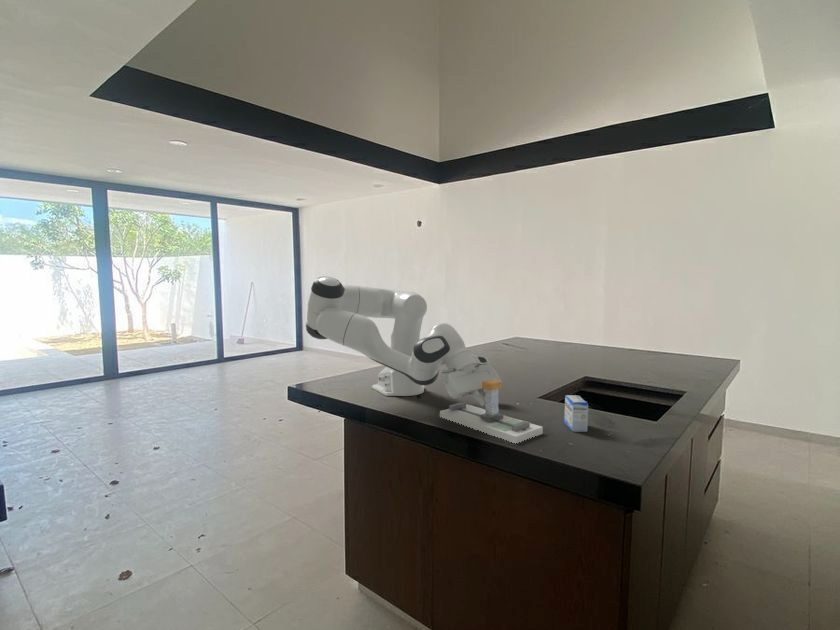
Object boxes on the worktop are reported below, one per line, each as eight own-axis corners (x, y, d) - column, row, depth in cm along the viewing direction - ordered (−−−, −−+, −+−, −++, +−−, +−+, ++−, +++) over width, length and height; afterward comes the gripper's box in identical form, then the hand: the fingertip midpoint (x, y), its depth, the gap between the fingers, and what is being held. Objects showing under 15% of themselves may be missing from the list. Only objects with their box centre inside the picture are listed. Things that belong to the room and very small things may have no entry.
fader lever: (480, 418, 130) (480, 381, 129) (493, 415, 134) (493, 378, 133) (490, 422, 127) (490, 384, 126) (503, 418, 131) (503, 381, 130)
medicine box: (563, 423, 133) (564, 394, 133) (578, 423, 133) (579, 394, 132) (572, 432, 125) (572, 402, 125) (587, 432, 125) (588, 402, 125)
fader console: (439, 417, 139) (439, 406, 139) (466, 409, 147) (466, 399, 147) (515, 444, 116) (515, 431, 116) (542, 433, 124) (542, 421, 124)
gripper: (443, 365, 130) (467, 404, 123) (490, 357, 142) (514, 392, 136) (433, 377, 133) (456, 416, 127) (480, 368, 146) (502, 403, 140)
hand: (486, 404), depth 131 cm, fingers closed, pressing on fader lever
